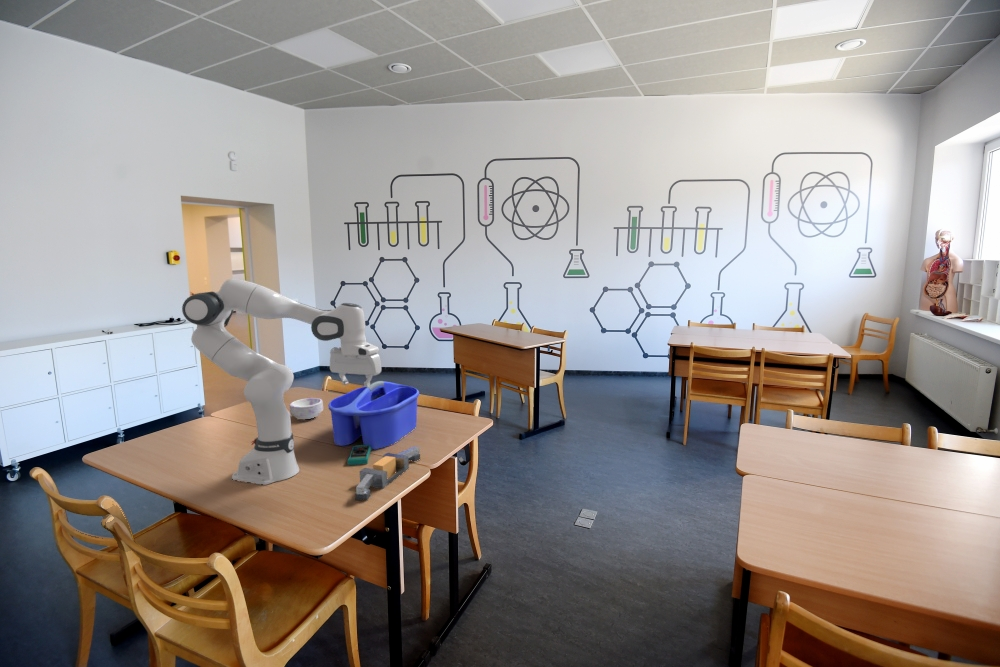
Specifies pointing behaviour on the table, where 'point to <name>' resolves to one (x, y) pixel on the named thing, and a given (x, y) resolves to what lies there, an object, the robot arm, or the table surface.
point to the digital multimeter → (359, 455)
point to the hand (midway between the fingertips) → (356, 385)
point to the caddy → (374, 414)
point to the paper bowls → (306, 408)
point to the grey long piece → (384, 473)
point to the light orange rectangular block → (386, 465)
